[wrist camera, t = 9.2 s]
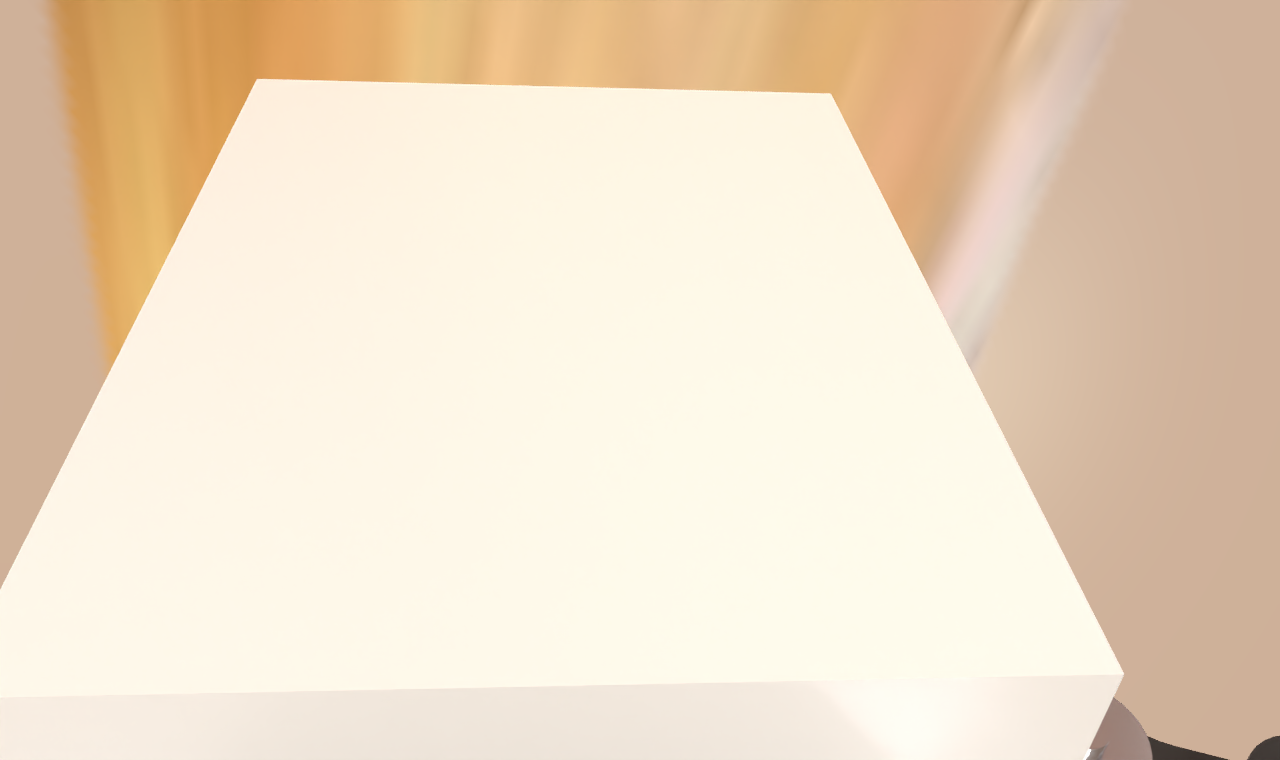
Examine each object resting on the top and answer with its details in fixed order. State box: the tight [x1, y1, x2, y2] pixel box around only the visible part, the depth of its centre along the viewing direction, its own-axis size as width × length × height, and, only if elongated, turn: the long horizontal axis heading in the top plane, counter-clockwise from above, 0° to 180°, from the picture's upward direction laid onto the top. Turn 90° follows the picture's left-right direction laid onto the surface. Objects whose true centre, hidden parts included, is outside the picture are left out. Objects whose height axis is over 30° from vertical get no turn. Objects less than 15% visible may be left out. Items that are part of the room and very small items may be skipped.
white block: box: [0, 79, 1124, 760], centre depth 12 cm, size 7×7×9 cm
